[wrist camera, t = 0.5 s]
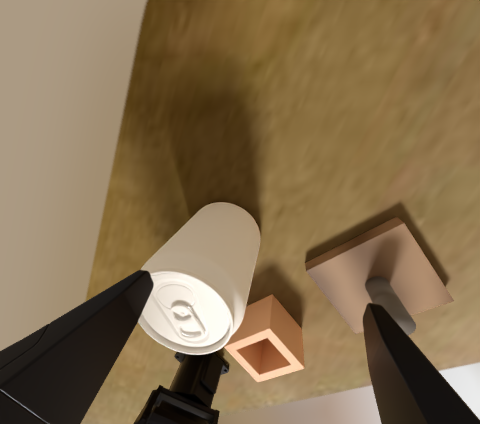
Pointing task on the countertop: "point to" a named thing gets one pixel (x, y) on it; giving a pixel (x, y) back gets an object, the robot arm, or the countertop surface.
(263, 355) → the collar
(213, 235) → the beverage can
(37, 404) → the robot arm
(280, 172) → the countertop surface
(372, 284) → the post stand
